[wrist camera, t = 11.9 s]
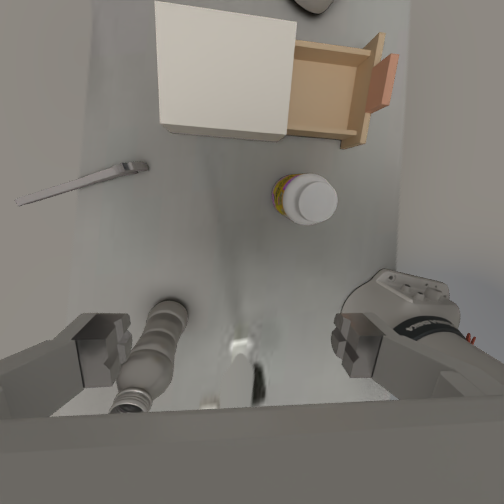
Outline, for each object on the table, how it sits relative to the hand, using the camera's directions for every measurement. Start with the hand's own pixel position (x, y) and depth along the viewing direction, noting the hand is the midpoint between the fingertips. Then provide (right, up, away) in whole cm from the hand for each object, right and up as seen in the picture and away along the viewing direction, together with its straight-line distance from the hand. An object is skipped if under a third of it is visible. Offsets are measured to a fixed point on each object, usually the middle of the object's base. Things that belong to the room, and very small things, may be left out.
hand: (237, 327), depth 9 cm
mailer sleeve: (-3, +26, +24) cm, 36 cm away
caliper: (-25, +13, +26) cm, 39 cm away
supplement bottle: (+7, +13, +30) cm, 33 cm away
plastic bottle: (-14, -8, +34) cm, 38 cm away
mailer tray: (+8, +26, +26) cm, 37 cm away
